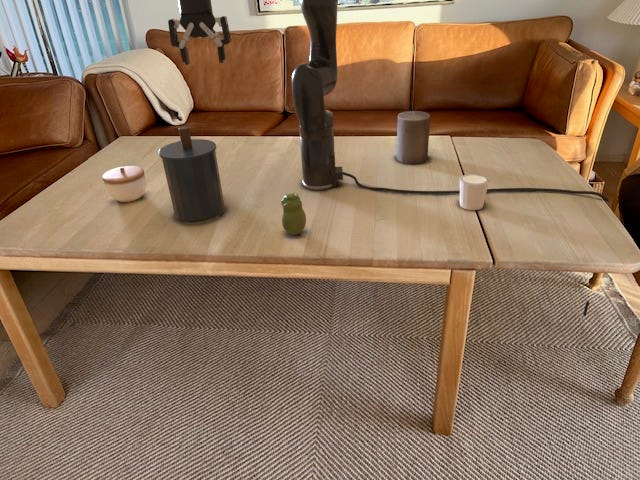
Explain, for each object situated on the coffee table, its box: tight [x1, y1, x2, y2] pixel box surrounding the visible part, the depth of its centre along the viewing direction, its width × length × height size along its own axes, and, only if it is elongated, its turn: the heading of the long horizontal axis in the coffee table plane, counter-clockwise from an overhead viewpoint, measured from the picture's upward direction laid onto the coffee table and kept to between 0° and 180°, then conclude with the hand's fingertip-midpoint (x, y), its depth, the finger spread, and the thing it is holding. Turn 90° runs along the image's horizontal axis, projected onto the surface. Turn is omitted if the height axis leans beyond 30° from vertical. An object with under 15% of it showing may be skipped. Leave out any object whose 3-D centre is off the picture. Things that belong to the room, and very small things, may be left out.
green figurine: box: [280, 192, 307, 235], centre depth 109 cm, size 6×5×10 cm
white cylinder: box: [459, 173, 490, 211], centre depth 118 cm, size 7×7×7 cm
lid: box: [158, 125, 217, 161], centre depth 114 cm, size 14×14×6 cm
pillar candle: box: [396, 110, 431, 165], centre depth 145 cm, size 10×10×15 cm
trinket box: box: [101, 165, 147, 203], centre depth 131 cm, size 11×11×9 cm
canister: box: [161, 150, 226, 224], centre depth 119 cm, size 13×13×17 cm
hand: (204, 63), depth 119 cm, fingers open, 8 cm apart
